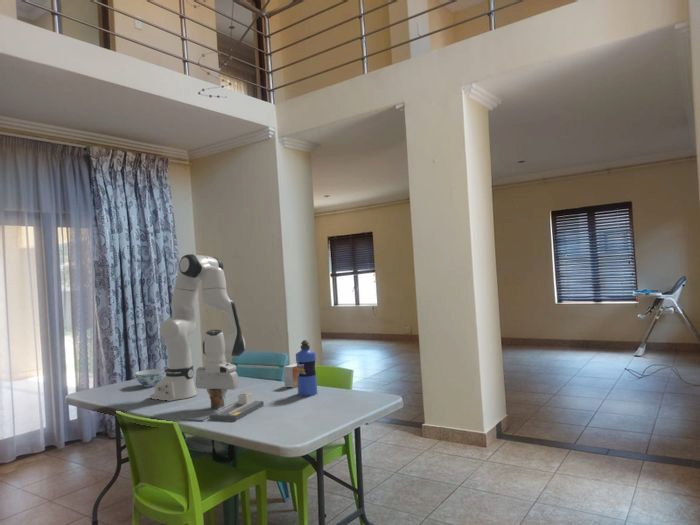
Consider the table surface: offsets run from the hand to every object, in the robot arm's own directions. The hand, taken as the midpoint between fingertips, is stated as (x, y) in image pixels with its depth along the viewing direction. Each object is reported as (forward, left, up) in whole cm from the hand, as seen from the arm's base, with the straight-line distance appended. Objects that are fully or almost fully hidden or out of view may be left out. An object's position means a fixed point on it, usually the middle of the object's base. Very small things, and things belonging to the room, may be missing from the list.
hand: (217, 398), depth 215 cm
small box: (+17, +41, -4) cm, 45 cm away
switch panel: (+14, -6, -4) cm, 16 cm away
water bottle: (+31, +27, -4) cm, 41 cm away
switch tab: (+14, 0, -1) cm, 14 cm away
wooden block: (0, 0, -4) cm, 4 cm away
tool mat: (+1, -14, -4) cm, 14 cm away
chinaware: (-66, +33, -4) cm, 74 cm away
